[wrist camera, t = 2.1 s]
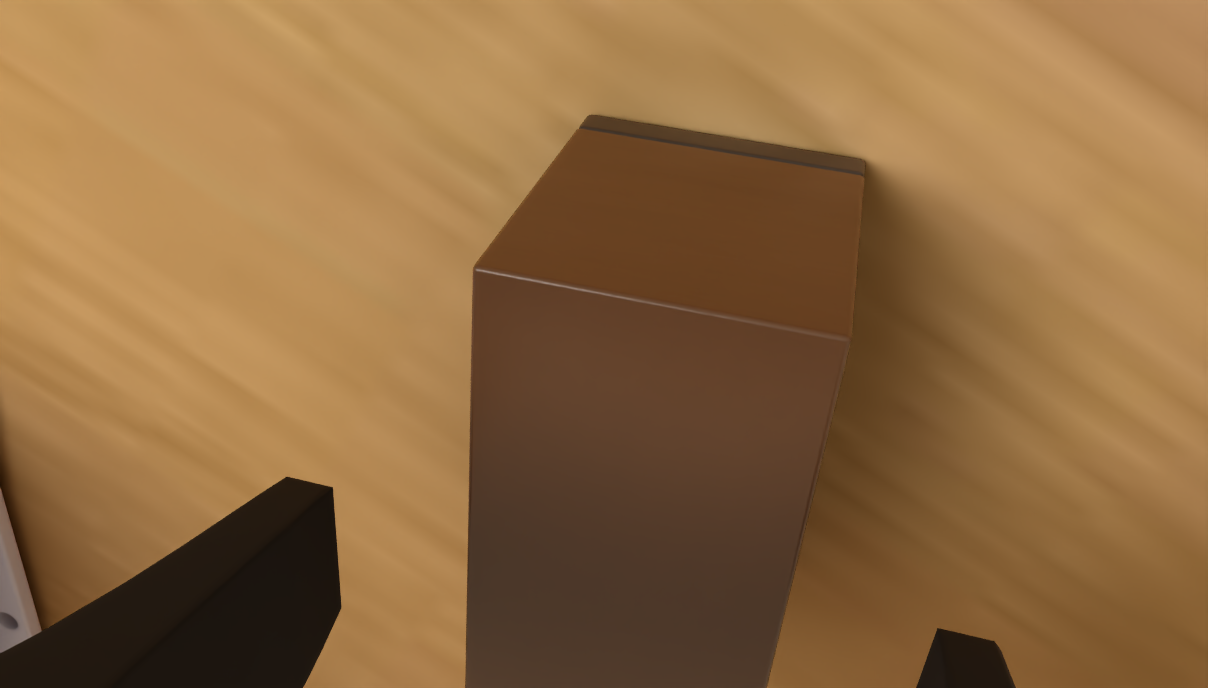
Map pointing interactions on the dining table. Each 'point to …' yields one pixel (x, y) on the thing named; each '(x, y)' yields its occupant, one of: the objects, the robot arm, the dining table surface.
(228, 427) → the dining table surface
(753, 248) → the brown rectangular block
